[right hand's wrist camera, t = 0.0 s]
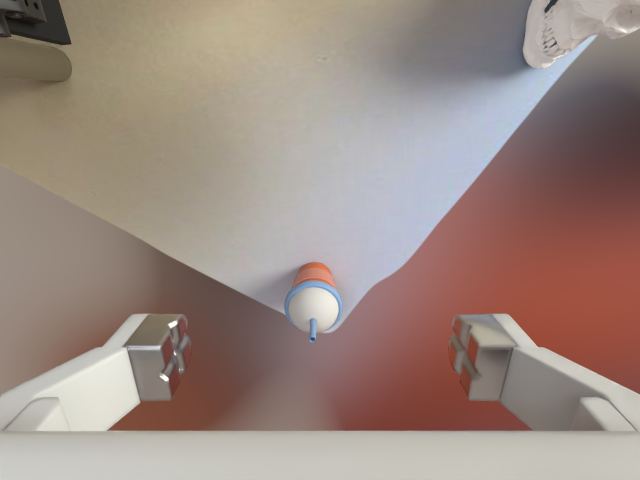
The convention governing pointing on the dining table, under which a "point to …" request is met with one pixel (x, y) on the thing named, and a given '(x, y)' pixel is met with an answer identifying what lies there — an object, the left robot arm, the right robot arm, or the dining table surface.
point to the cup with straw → (313, 300)
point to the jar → (32, 61)
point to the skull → (574, 26)
